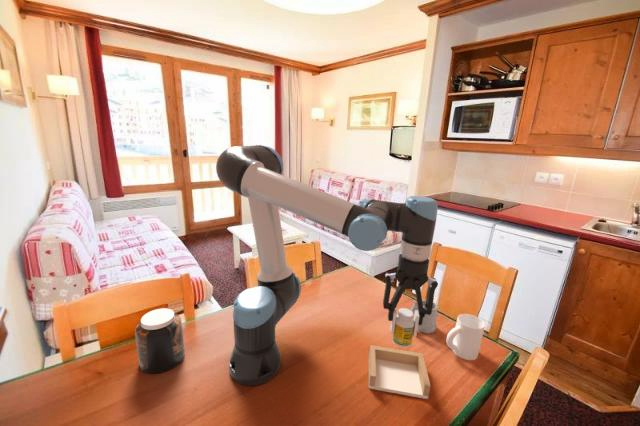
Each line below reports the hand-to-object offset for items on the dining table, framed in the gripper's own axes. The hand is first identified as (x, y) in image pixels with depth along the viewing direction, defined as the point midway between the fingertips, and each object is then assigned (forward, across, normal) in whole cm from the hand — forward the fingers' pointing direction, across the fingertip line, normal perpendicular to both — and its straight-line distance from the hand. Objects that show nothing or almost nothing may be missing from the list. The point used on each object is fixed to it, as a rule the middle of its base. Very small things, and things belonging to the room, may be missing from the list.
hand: (403, 331), depth 80 cm
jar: (+16, -70, -9) cm, 72 cm away
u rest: (+16, 0, 0) cm, 16 cm away
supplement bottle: (+3, 0, 0) cm, 3 cm away
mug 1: (+16, +11, +25) cm, 32 cm away
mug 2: (+16, +22, +15) cm, 31 cm away
